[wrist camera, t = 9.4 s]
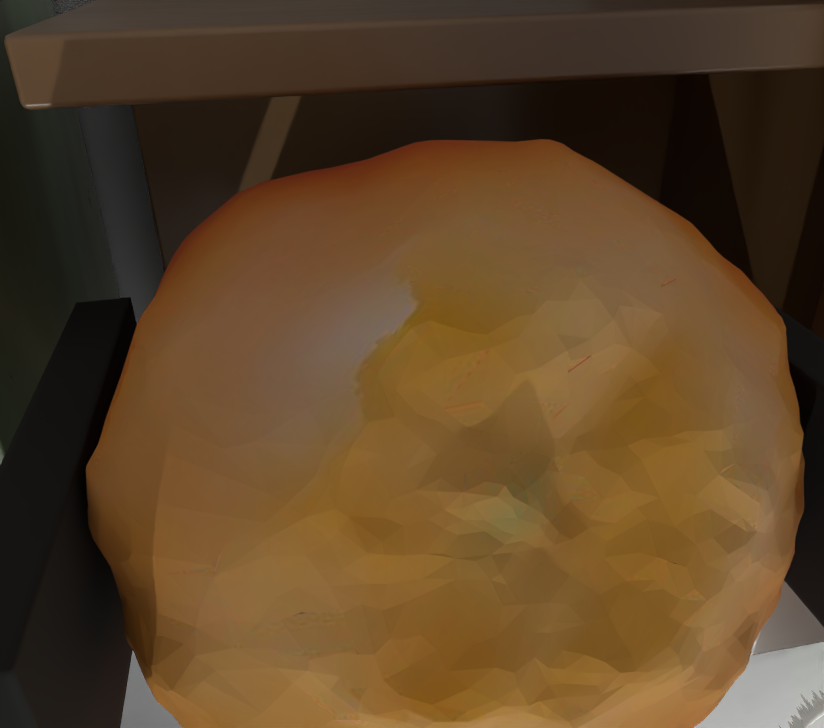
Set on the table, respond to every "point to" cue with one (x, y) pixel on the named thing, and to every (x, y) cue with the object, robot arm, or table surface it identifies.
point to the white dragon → (809, 712)
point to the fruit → (449, 453)
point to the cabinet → (790, 615)
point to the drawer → (400, 121)
